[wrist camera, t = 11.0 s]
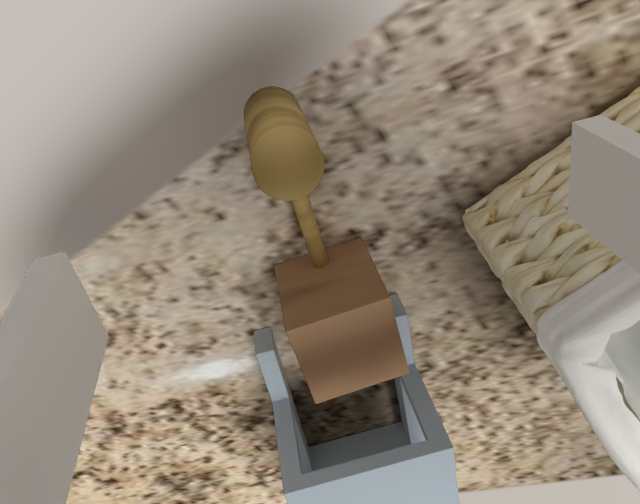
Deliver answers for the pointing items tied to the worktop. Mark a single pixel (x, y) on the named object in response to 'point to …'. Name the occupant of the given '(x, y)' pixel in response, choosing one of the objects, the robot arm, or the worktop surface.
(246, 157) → the worktop surface
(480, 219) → the storage basket
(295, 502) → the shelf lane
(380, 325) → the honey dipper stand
